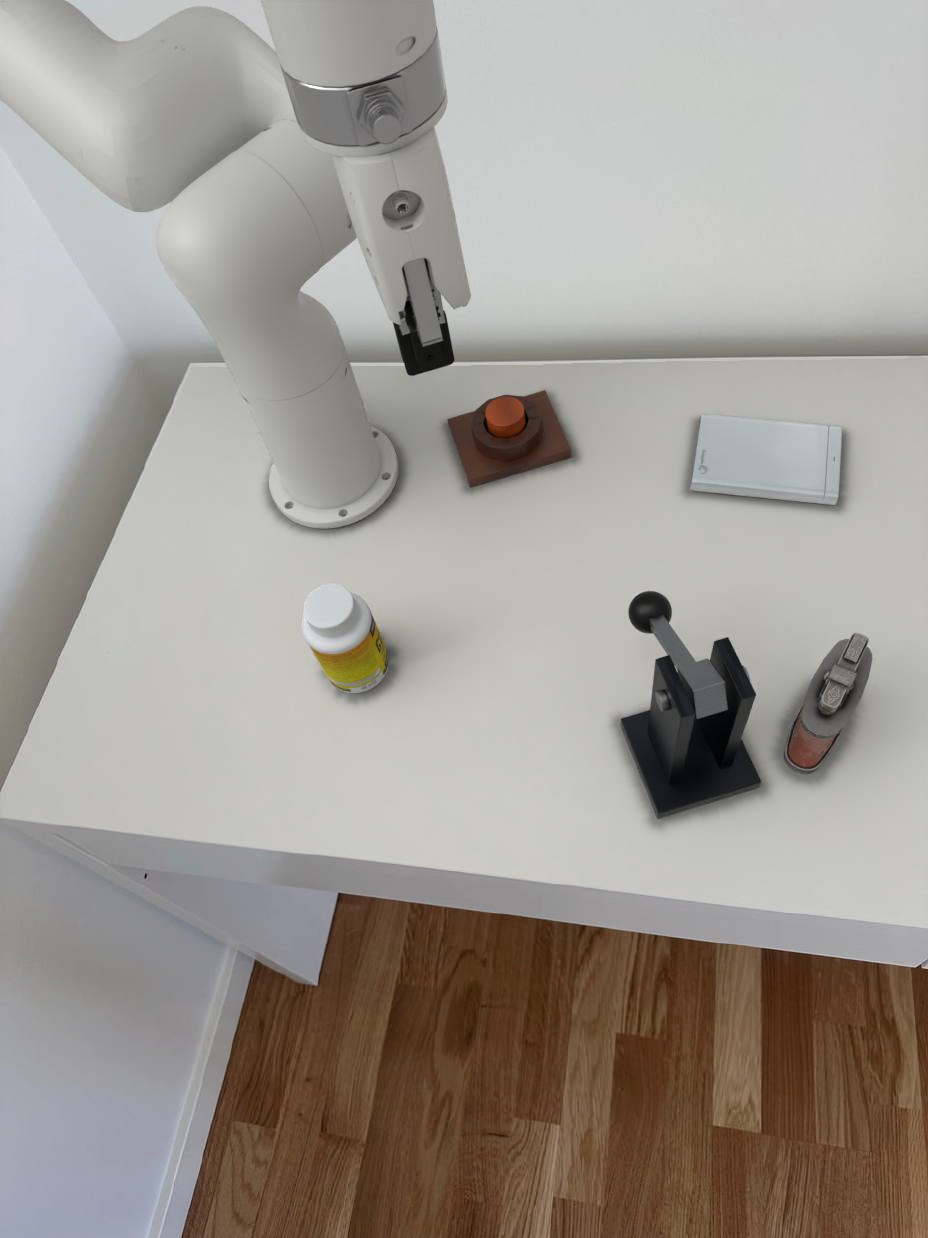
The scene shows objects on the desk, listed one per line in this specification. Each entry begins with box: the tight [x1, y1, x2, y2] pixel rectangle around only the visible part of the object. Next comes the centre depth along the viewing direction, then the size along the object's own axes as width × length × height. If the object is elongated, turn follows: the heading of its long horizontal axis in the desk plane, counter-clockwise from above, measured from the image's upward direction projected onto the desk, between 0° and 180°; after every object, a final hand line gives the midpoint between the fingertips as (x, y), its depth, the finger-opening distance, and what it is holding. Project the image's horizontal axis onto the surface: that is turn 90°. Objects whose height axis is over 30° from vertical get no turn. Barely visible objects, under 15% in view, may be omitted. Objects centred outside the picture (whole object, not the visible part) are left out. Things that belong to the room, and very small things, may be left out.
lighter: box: [783, 632, 873, 775], centre depth 66 cm, size 8×3×10 cm, turn 148°
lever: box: [627, 590, 728, 719], centre depth 64 cm, size 13×3×3 cm, turn 15°
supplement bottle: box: [300, 583, 390, 694], centre depth 74 cm, size 6×6×10 cm
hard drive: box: [689, 412, 843, 506], centre depth 82 cm, size 2×8×12 cm
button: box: [485, 397, 525, 438], centre depth 85 cm, size 4×4×2 cm
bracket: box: [620, 636, 762, 820], centre depth 64 cm, size 8×8×14 cm
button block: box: [446, 389, 572, 488], centre depth 87 cm, size 10×8×3 cm
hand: (428, 361), depth 60 cm, fingers closed
